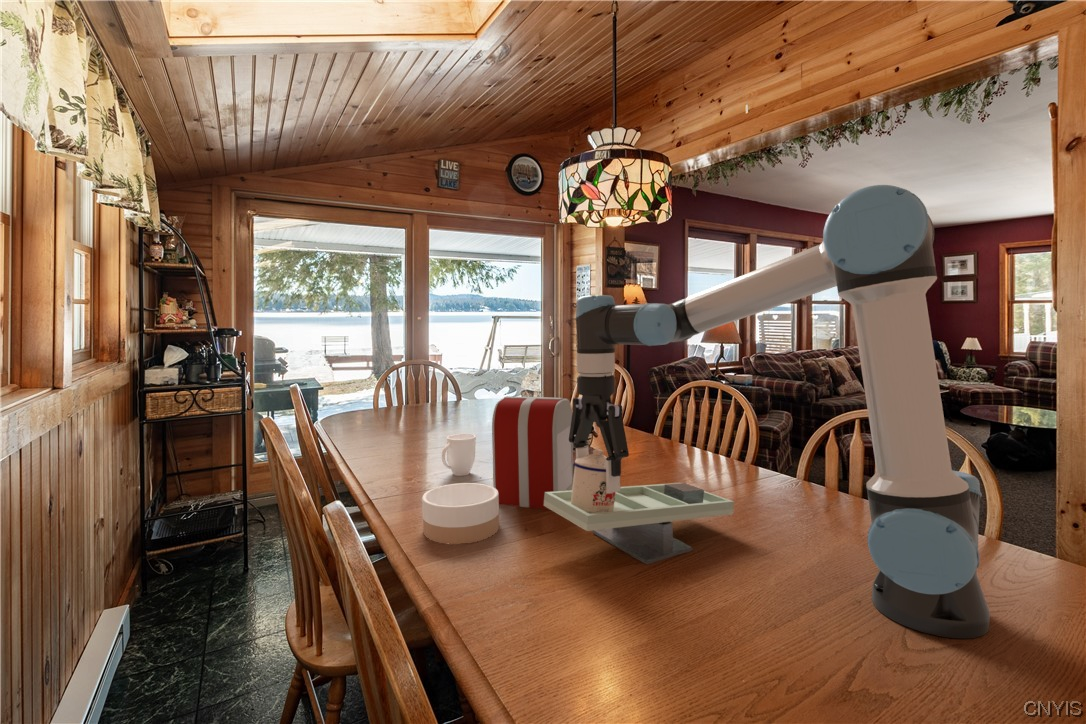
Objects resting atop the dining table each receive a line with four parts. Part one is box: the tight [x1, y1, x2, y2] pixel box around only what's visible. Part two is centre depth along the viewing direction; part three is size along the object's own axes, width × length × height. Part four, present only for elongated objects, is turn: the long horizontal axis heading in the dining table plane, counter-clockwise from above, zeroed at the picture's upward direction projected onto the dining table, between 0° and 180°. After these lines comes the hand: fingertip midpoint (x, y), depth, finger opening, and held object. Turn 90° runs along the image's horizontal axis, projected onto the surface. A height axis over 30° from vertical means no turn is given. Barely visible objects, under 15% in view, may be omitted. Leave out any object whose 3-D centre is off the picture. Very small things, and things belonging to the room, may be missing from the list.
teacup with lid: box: [571, 448, 616, 513], centre depth 109 cm, size 12×9×12 cm
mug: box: [441, 433, 477, 477], centre depth 167 cm, size 12×9×12 cm
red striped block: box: [491, 395, 574, 510], centre depth 144 cm, size 17×18×27 cm
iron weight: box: [664, 482, 705, 504], centre depth 120 cm, size 6×6×3 cm
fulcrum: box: [592, 521, 693, 566], centre depth 114 cm, size 18×12×7 cm, turn 29°
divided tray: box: [544, 482, 735, 532], centre depth 114 cm, size 16×38×3 cm, turn 119°
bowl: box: [421, 482, 500, 545], centre depth 123 cm, size 17×17×8 cm
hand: (597, 484), depth 108 cm, fingers open, 10 cm apart
